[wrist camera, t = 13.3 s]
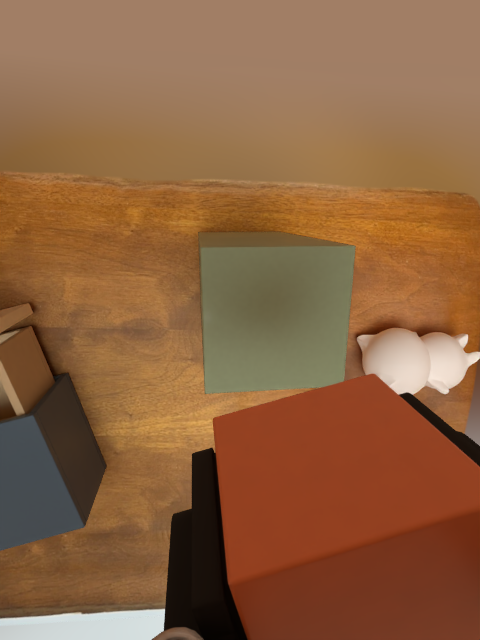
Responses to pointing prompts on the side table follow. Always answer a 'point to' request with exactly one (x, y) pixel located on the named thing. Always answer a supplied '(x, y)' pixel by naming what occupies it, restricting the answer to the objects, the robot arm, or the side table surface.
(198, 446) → the side table surface
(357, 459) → the block
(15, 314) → the drawer
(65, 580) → the side table surface
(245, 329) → the stand
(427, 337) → the cat figurine
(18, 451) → the cabinet
